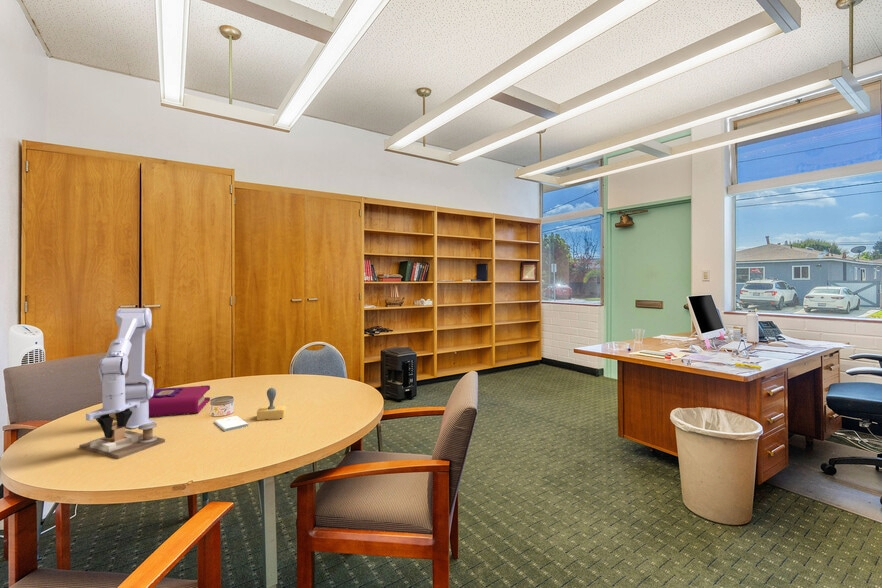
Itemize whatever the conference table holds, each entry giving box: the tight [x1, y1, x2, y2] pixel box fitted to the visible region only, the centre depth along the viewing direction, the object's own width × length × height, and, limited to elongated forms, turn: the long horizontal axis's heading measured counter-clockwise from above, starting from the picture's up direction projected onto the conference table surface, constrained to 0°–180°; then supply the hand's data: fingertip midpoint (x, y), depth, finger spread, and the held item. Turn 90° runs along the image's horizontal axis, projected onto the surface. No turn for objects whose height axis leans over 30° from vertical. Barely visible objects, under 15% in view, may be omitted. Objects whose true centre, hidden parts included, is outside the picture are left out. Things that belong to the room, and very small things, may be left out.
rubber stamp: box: [256, 387, 287, 421], centre depth 161 cm, size 10×6×12 cm, turn 103°
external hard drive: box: [214, 415, 249, 432], centre depth 152 cm, size 2×8×12 cm
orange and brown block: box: [107, 424, 126, 442], centre depth 130 cm, size 4×3×5 cm
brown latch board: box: [78, 422, 166, 459], centre depth 132 cm, size 20×14×6 cm
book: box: [149, 384, 211, 418], centre depth 169 cm, size 21×28×8 cm
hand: (114, 435), depth 130 cm, fingers closed on orange and brown block, 3 cm apart
